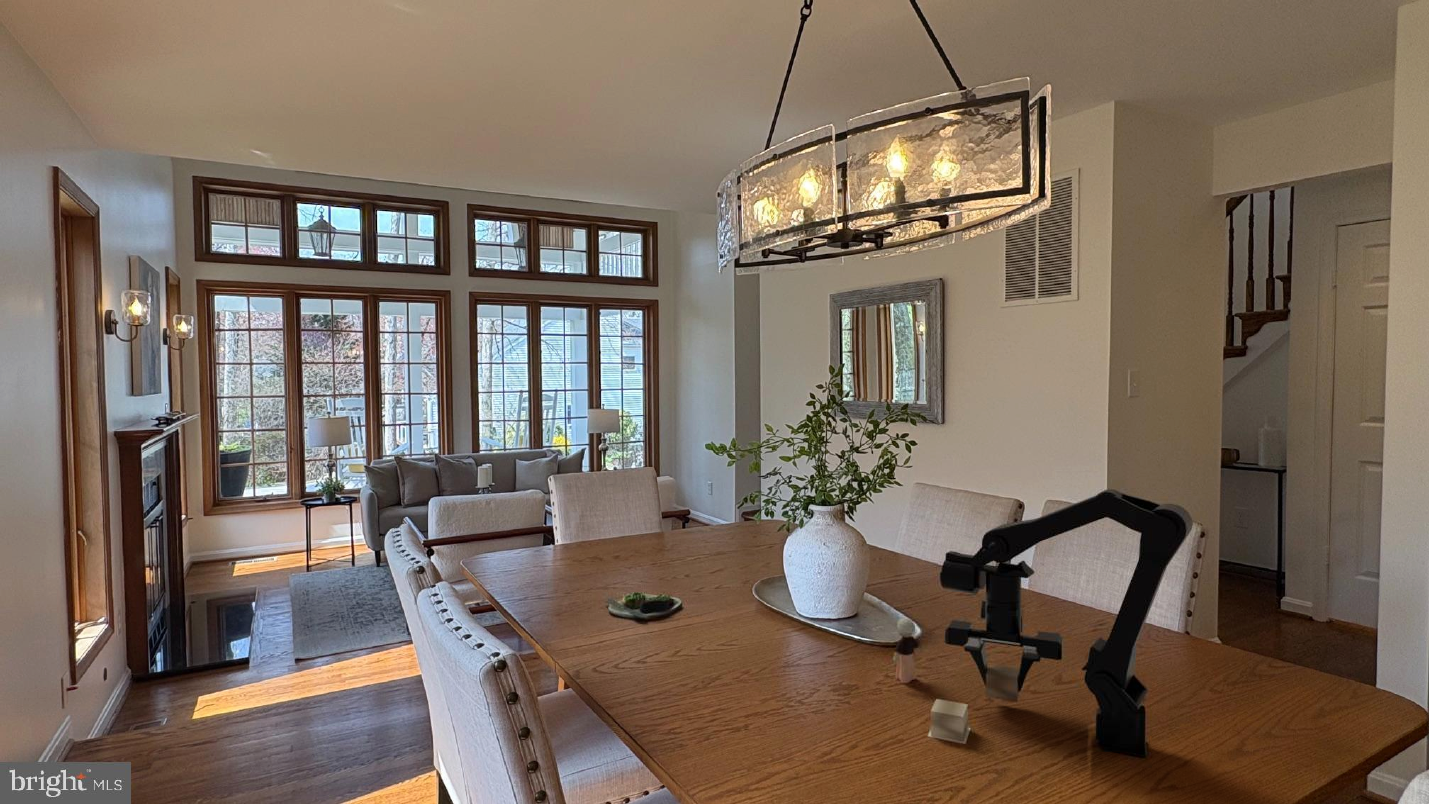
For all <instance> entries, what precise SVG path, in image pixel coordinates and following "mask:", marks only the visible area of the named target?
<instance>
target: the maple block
mask: <svg viewBox="0 0 1429 804" xmlns="http://www.w3.org/2000/svg"><path fill="white" fill-rule="evenodd" d="M968 707H969V705H968V703H962V702H955V701H950V700H946V699H945V700H944V699H939V698H936V699H935V701H934V703H933V705H932V707H931V710H930V730H931V736H936V737H941V738H946V739H951V740H956V741H961V742H963V741H964V738H965V735H966V732H967V729H968V728H969V727H968V726H969V723H968V722H969V719H968V718H969V716H968V714H969V713H968V712H969V708H968Z"/></svg>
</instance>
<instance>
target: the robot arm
mask: <svg viewBox="0 0 1429 804" xmlns="http://www.w3.org/2000/svg"><path fill="white" fill-rule="evenodd" d="M1105 518H1107V519H1110V520H1112V521H1115V522H1117V523H1118V524H1121V526H1124V527H1126V528H1128V529H1130V530H1132V531H1134V532H1136V533H1139V534H1140V538H1139V549H1138V551H1139V552H1138V553H1139V554H1138V561H1137V563H1136V565H1135V568H1134V571H1133V573H1132V576H1131V578H1130V579H1131V580H1130V582H1129V584H1128V586H1127V589H1126V592H1125V594H1124V597H1123V600H1122V603H1121V605H1120V607H1119V611H1118V613H1117V616H1116V617H1115V621H1114V624H1113V625H1112V628H1111V631H1110V634H1109V636H1108V638H1107V640H1105V639H1103V638H1102V637H1101V636H1100V637H1098V638H1097V639H1096V640H1095V642H1094V643H1093V644H1092V645H1091V646H1090V647H1089V648H1090V649H1089V652H1088V659H1087V662H1086V663H1085V664H1084V665H1083V666H1082V667H1081V670H1082V671H1085V674H1084V683H1085V686H1086V687H1087V689H1088V691H1089V692H1090V693H1091V694H1092V695H1094V698H1095V700H1096V703H1097V705H1098V708H1096V709H1095V740H1097V741H1098V746H1099V749H1100V750H1105V751H1109V752H1115V753H1121V754H1126V755H1131V756H1137V757H1140V758H1141V757H1142V758H1147V757H1148V752H1147V745H1146V729H1147V728H1146V727H1147V726H1146V723H1147V721H1146V720H1147V719H1146V718H1147V713H1146V707H1145V705H1142V704H1143V703H1144V701H1145V700H1146V698H1147V695H1148V693H1149V689H1148V688H1147V686H1146V685H1144V684H1143V682H1141V680H1140V679H1139V678H1138V676H1136V674H1134V671H1135V666H1136V659H1137V658H1136V657H1137V645H1138V641H1139V639H1140V636H1141V633H1142V631H1143V628H1144V626H1145V624H1146V620H1147V618H1148V616H1149V613H1150V612H1151V608H1152V606H1153V603H1154V601H1155V598H1156V596H1157V593H1158V590H1159V587H1160V585H1161V583H1162V580H1163V577H1164V576H1165V573H1166V570H1167V567H1168V565H1169V564H1170V563H1171V561H1172V560H1173V558H1174V557H1175V556H1176V554H1177V553H1178V552H1179V549H1180V548H1181V547H1182V546H1183V543H1184V542H1185V540H1186V539H1187V537H1188V536H1189V535H1190V533H1191V532H1192V529H1193V525H1194V522H1193V519H1192V518H1193V517H1192V516H1191V515H1190V513H1189V511H1188V510H1186V509H1185V508H1184V507H1182V506H1180V505H1179V504H1175V503H1163V504H1160V503H1157V502H1154V501H1151V500H1147V499H1144V498H1142V497H1141V498H1140V497H1136V496H1133V495H1128V494H1126V493H1123V492H1120V491H1119V490H1117V489H1113V488H1109V489H1105V490H1102V491H1100V492H1099V493H1097V494H1096V495H1094V496H1090V497H1088V498H1086V499H1084V500H1080V501H1078V502H1075V503H1073V504H1070V505H1068V506H1066V507H1065V506H1064V507H1063V508H1060V509H1057V510H1055V511H1053V512H1050V513H1047V514H1045V515H1043V516H1042V515H1041V516H1040V517H1038V518H1033V519H1032V518H1031V519H1026V520H1019V521H1015V522H1009V523H1004V524H1001V525H999V526H996V527H995V528H992V529H991V530H988V531H987V532H985V533H984V535H983V537H982V539H981V547H980V548H979V550H978V551H977V552H976V553H975V554H974V555H973V554H965V553H960V552H957V551H952V550H950V551H948V552H946V553H945V559H944V561H943V563H942V566H941V571H940V572H939V580H940V585H941V588H942V589H944V590H950V591H953V592H961V593H965V594H966V593H967V594H972V595H977V594H978V593H979V592H980V590H984V589H985V600H982V601H981V605H980V618H981V620H985V629H978V628H977V629H976V628H973V626H974V625H973V622H971V621H962V620H956V619H952V620H951V621H950V622H948V625H947V626H946V628H945V633H944V643H945V644H947V645H952V646H958V647H963V650H964V652H968V653H969V654H970V655H971V658H972V659H973V661H974V662H975V664H976V666H977V669H978V672H979V674H980V677H981V679H982V681H983V684H984V686H985V687H986V672H987V670H988V660H987V651H986V650H987V649H986V645H987V644H986V643H989V644H990V643H991V644H997V645H998V644H999V645H1005V646H1011V647H1019V648H1022V649H1023V651H1022V655H1021V658H1020V659H1021V661H1020V666H1019V669H1020V672H1019V679H1018V691H1019V693H1020V692H1021V691H1022V688H1023V685H1024V683H1025V680H1026V678H1027V675H1028V673H1029V671H1030V670H1031V667H1032V666H1033V664H1034V663H1039V662H1041V660H1042V659H1048V660H1053V661H1054V660H1055V661H1060V660H1063V651H1064V637H1063V636H1062V634H1060V633H1055V632H1048V631H1040V630H1038V631H1037V635H1036V636H1029V635H1022V633H1023V631H1024V630H1023V628H1024V627H1023V626H1024V625H1023V623H1024V622H1023V621H1024V619H1023V618H1024V617H1023V612H1022V578H1023V579H1029V578H1030V577H1031V576H1032V575H1034V574H1035V571H1034V569H1032V567H1030V566H1029V565H1028V564H1027V563H1026V561H1025V560H1022V561H1020V562H1018V563H1017V564H1016V563H1015V564H1014V563H1009V561H1011V560H1012V559H1013V558H1016V557H1018V556H1019V555H1021V554H1022V553H1024V552H1025V551H1027V550H1029V549H1030V548H1033V547H1034V546H1036V545H1038V544H1039V543H1040V542H1042V541H1045V540H1048V539H1051V538H1053V537H1056V536H1059V535H1062V534H1064V533H1067V532H1070V531H1073V530H1076V529H1078V528H1081V527H1084V526H1086V525H1089V524H1092V523H1095V522H1097V521H1099V520H1102V519H1105ZM992 562H996V563H997V565H990V563H992Z"/></svg>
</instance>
